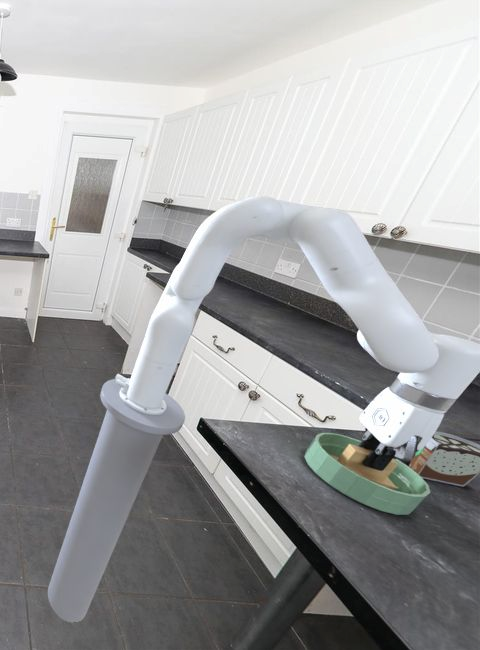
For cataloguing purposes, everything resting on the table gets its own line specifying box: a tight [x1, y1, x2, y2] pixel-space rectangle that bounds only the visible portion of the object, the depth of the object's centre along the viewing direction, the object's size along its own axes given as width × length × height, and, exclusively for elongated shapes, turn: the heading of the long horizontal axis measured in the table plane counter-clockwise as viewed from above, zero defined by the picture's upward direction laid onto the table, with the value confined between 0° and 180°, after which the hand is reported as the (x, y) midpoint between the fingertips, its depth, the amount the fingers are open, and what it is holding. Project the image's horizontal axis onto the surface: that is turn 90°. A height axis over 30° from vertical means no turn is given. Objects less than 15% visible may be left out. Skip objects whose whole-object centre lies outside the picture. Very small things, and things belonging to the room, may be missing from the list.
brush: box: [330, 444, 398, 491], centre depth 73 cm, size 10×5×8 cm, turn 66°
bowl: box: [304, 432, 431, 516], centre depth 74 cm, size 17×17×6 cm
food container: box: [407, 431, 480, 487], centre depth 78 cm, size 12×6×10 cm, turn 78°
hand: (367, 461), depth 73 cm, fingers closed on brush, 2 cm apart
